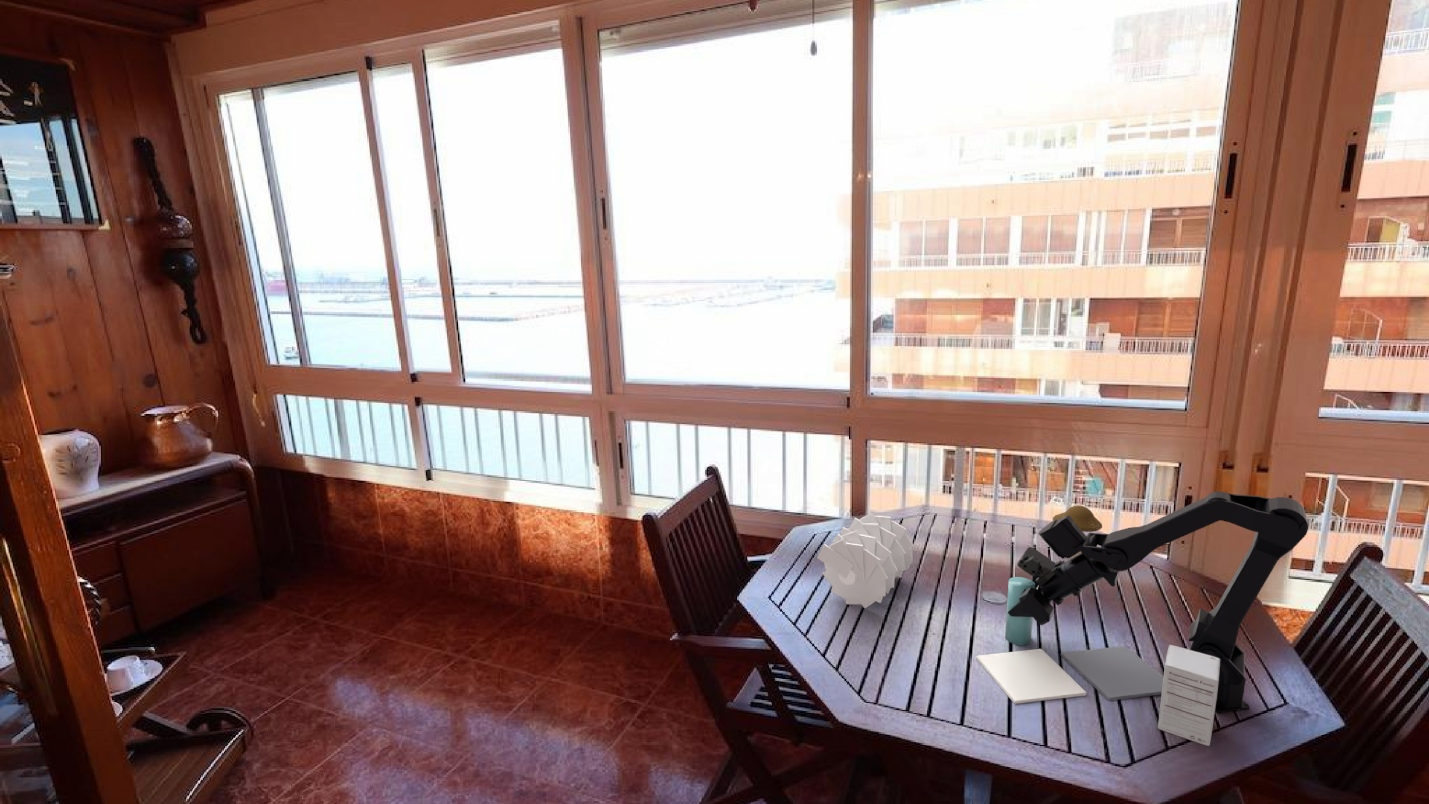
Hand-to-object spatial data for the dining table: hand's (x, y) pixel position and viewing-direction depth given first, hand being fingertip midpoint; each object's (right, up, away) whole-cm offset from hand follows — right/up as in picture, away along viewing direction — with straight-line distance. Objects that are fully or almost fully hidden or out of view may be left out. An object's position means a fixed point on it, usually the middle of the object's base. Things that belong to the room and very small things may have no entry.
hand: (1012, 608), depth 139 cm
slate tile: (+15, -9, -12) cm, 21 cm away
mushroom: (+32, +2, +34) cm, 47 cm away
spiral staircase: (-25, -3, +23) cm, 35 cm away
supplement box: (+18, -12, -26) cm, 34 cm away
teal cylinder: (+1, -7, +1) cm, 7 cm away
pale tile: (-2, -9, -12) cm, 15 cm away
